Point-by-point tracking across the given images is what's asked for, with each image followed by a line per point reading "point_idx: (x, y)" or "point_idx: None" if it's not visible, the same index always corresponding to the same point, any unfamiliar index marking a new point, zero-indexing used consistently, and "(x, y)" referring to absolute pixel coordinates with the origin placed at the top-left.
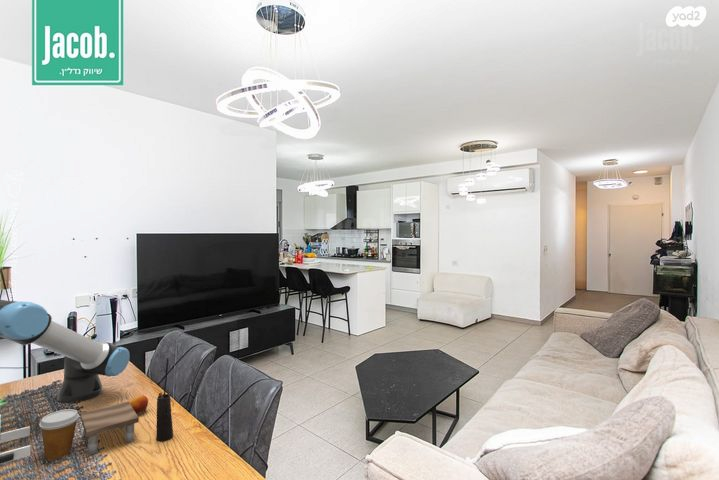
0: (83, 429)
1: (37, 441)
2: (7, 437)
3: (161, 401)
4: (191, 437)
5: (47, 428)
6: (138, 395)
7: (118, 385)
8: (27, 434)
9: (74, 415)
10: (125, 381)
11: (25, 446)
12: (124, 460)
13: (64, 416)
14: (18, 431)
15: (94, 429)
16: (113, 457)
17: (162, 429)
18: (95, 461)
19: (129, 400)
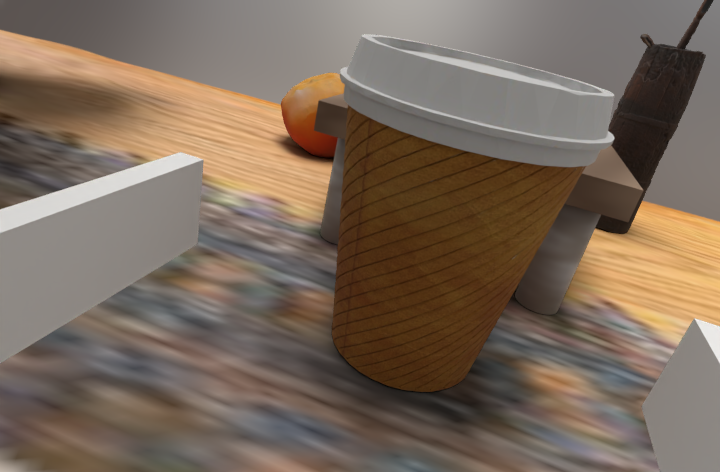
0: (341, 198)
1: None
2: (53, 280)
3: (700, 66)
4: (649, 215)
5: (574, 153)
6: (334, 73)
7: (23, 60)
8: (190, 233)
9: (555, 75)
10: (27, 52)
11: (711, 345)
12: (711, 312)
13: (503, 75)
14: (139, 202)
15: (631, 177)
16: (654, 308)
17: (647, 187)
18: (648, 340)
19: (325, 87)
